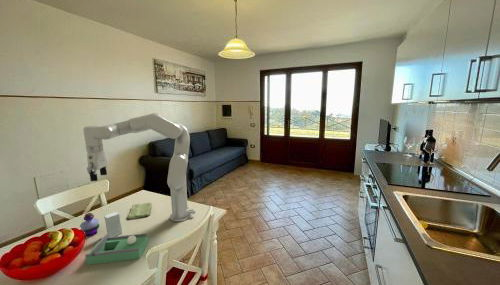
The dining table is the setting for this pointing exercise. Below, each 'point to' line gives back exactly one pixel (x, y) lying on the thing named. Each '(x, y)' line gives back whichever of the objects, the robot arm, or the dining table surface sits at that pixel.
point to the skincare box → (113, 224)
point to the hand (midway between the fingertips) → (99, 177)
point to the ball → (131, 240)
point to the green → (116, 249)
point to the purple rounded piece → (90, 225)
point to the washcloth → (140, 210)
